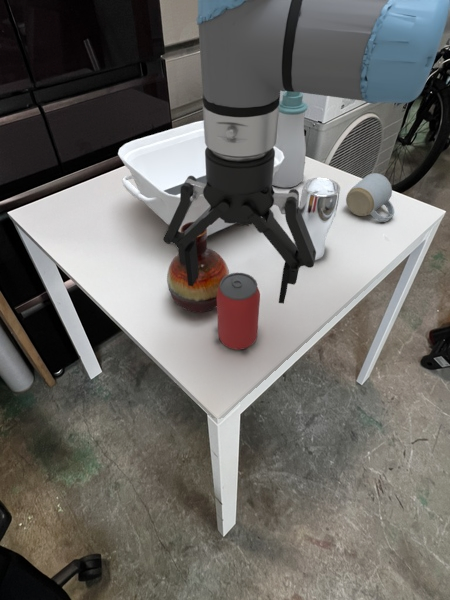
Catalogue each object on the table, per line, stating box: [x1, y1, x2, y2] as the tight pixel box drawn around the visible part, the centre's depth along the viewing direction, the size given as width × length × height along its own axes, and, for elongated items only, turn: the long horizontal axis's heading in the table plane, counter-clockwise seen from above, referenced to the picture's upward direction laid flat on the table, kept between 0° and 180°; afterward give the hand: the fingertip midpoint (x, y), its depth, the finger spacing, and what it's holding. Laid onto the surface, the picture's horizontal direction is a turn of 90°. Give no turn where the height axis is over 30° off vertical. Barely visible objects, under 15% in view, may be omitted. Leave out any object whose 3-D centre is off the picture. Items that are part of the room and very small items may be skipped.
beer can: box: [216, 272, 261, 350], centre depth 59 cm, size 7×7×12 cm
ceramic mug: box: [345, 172, 395, 223], centre depth 85 cm, size 11×8×8 cm
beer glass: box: [296, 177, 341, 261], centre depth 73 cm, size 7×7×15 cm
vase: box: [166, 222, 230, 313], centre depth 64 cm, size 11×11×15 cm
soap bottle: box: [272, 90, 309, 189], centre depth 91 cm, size 10×10×23 cm
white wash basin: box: [117, 120, 284, 237], centre depth 83 cm, size 34×29×15 cm
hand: (237, 288), depth 55 cm, fingers open, 13 cm apart
